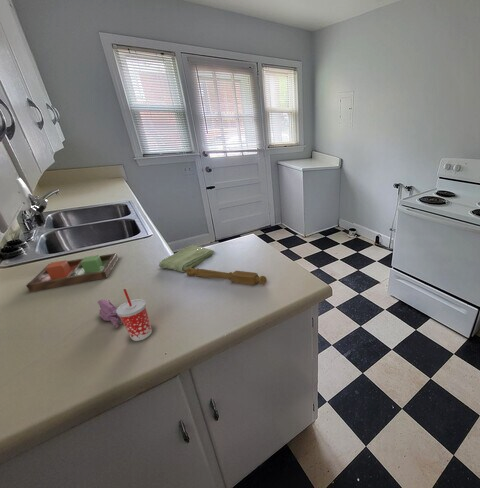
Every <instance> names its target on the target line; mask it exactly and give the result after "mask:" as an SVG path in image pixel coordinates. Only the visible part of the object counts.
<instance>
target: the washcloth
mask: <svg viewBox="0 0 480 488" xmlns="http://www.w3.org/2000/svg"><path fill="white" fill-rule="evenodd" d="M201 248H202V249H201ZM197 249H198V250H197ZM215 252H216V251H215V250H214V249H211V248H206V247H203V246H196V245H195V244H192V245H189V246H186V247H184V248H182V249H180V250H179V251H177V252H175V253H174V254H171V255H169V256H167V257H166V258H163V259H162V260H161V261H160V262H159V263H158V267H159V268H162V269H168V270H175V271H178V272H181V273H184V272H186V270H187V269H188V268H195V267H196V266H198V265H199V264H201V263H202V262H203V261H205V260H206V259H208V258H209V257H210V256H212V255H213V254H214V253H215Z"/></svg>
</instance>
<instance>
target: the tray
mask: <svg viewBox="0 0 480 488" xmlns="http://www.w3.org/2000/svg"><path fill="white" fill-rule="evenodd" d="M99 256H100V258H101V261H102V263H103V266H102V268H101V269H100V271H94V272H88V273H85V271H84V269H83V267H82V265H81V261H82V260H83V259H84V258H85V257H82V258H76V259H71V260H67V262H68V264H69V267H70V269H71V272H70V273H69V274H68V275H67V276H65V277H59V278H53V279H51V278H50V276H49V274H48V272H47V270H46V267H47V266H48V265H49V264H50V263H48V264H47V265H46V266H45V267H44V268H43V269H42V270H40V272H39V273H38V274H37V275H35V277H33V278H32V279H31V280H30V281H29V282H28V283H27V284H26V288H27V290H28V291H29V292H30V293H34V292H39V291H44V290H49V289H54V288H60V287H66V286H70V285H76V284H81V283H87V282H88V283H89V282H93V281H97V280H104V279H108V278H109V276H110V274H111V272H112V271H113V268H114V267H115V266H116V264H117V262H118V260H119V257H118V253H116V252H115V253H114V252H113V253H109V254H102V255H99Z"/></svg>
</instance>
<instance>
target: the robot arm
mask: <svg viewBox="0 0 480 488" xmlns="http://www.w3.org/2000/svg"><path fill="white" fill-rule="evenodd" d="M15 180H16V185H17V189H18V193H19V196H20V200H21V202H22V203H23V204H24V205H23V206H22V209H21V210H20V211H19V212H25V211H29V212H31V213H33V214H34V215H33V218H34V221H35V222H36V225H37V226H38V227H43V226H44V225H46V218H45V216H44V214H43V213H44V211H45V210H46V209H47V205H48V202H49V201H48V199H46V198H44V197H43V198H42V197H39V196H35V195H33V194H32V192H31V190H30V188H29V187H28V185H27V184H26V183H25V181H24V180H23V179H22V178H21V177H18V176H17V179H15ZM37 203H39V206H37Z"/></svg>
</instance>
